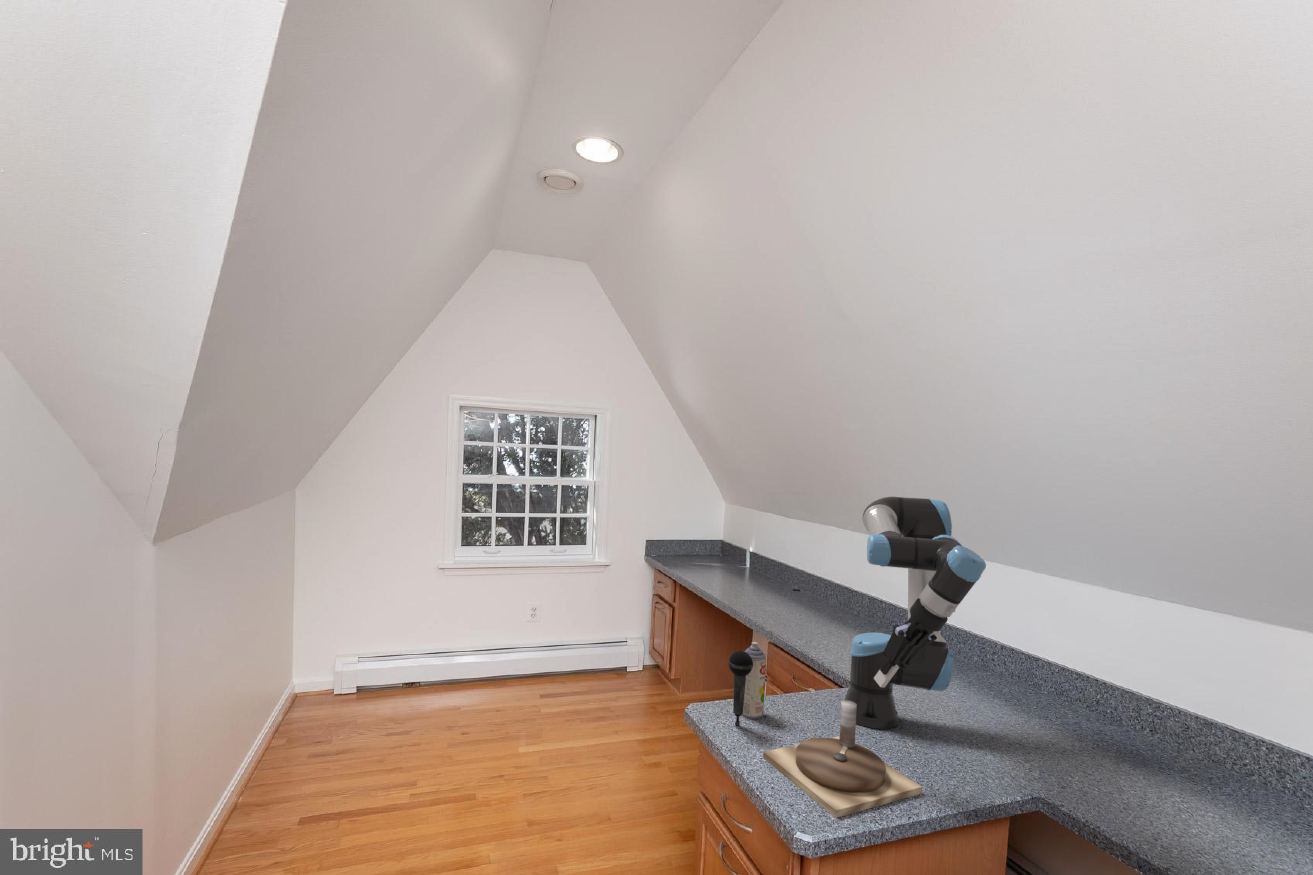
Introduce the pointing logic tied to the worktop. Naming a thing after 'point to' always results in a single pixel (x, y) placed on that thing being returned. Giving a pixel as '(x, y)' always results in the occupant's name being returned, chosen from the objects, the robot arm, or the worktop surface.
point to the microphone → (739, 679)
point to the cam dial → (841, 758)
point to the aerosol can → (755, 684)
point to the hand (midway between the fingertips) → (879, 682)
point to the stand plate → (839, 799)
